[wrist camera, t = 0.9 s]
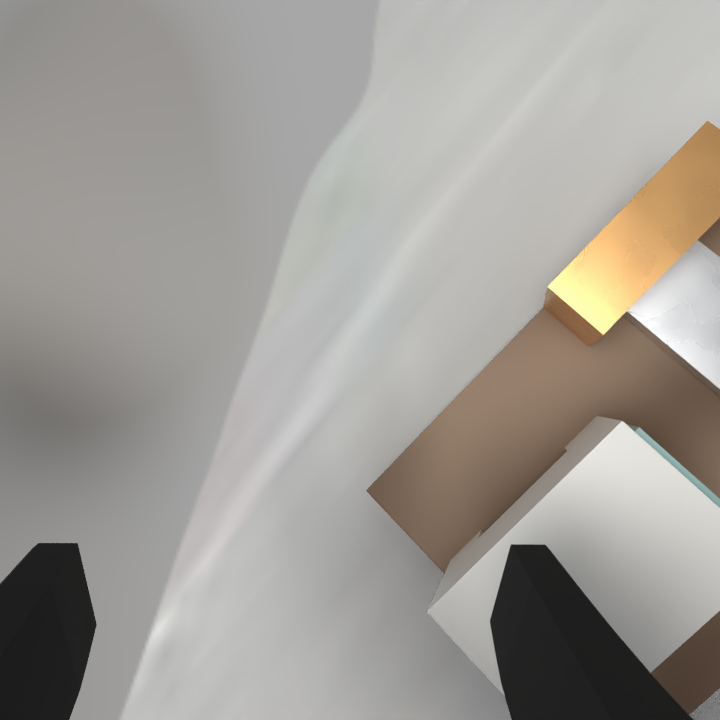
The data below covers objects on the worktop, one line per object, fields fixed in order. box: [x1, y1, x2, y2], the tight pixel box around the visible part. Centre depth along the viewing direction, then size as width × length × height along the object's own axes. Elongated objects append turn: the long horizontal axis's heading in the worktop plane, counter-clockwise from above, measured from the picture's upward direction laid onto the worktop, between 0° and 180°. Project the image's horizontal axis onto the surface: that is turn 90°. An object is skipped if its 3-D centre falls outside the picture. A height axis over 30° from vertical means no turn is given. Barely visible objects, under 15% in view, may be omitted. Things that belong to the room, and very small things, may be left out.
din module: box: [427, 416, 720, 696], centre depth 18 cm, size 4×7×6 cm, turn 136°
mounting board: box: [366, 218, 720, 714], centre depth 21 cm, size 12×16×2 cm
